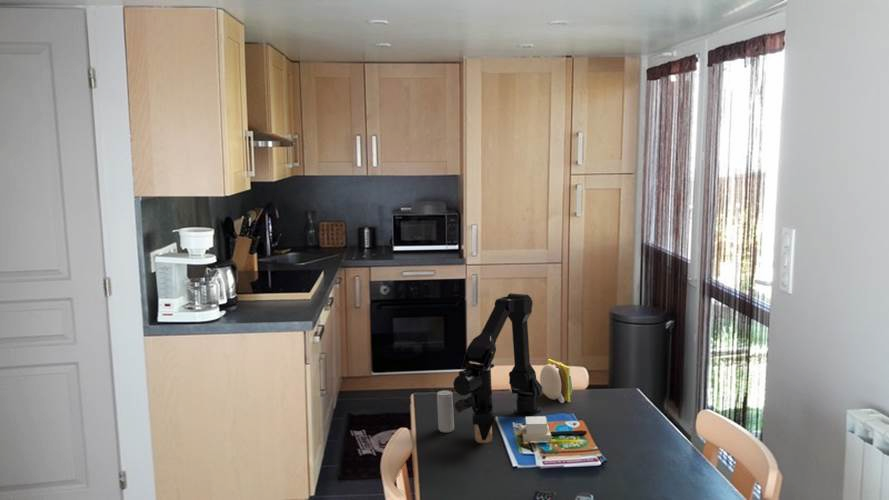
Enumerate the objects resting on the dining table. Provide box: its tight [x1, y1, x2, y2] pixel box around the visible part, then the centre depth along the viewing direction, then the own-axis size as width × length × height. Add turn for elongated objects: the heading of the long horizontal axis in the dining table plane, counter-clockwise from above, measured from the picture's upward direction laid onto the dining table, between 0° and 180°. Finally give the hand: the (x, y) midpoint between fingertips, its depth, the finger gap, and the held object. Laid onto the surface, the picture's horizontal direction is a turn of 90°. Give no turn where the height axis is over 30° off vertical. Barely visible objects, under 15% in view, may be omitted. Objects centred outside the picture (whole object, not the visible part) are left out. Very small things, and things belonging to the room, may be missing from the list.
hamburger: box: [539, 358, 573, 404], centre depth 242 cm, size 12×8×12 cm
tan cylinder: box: [474, 425, 493, 444], centre depth 209 cm, size 5×5×5 cm
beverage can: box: [436, 389, 455, 434], centre depth 218 cm, size 5×5×12 cm
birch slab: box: [520, 424, 552, 443], centre depth 209 cm, size 8×8×3 cm
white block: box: [525, 416, 548, 434], centre depth 209 cm, size 6×6×3 cm
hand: (483, 436), depth 209 cm, fingers closed on tan cylinder, 5 cm apart
